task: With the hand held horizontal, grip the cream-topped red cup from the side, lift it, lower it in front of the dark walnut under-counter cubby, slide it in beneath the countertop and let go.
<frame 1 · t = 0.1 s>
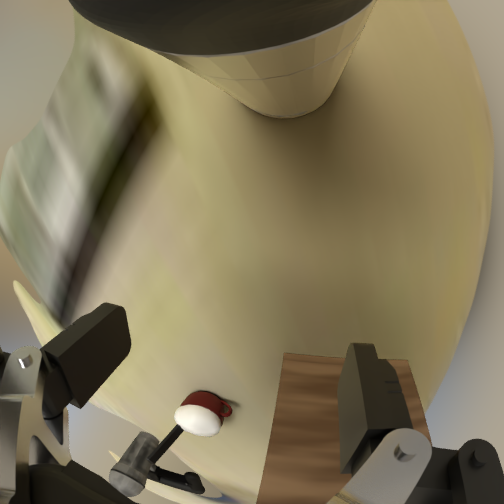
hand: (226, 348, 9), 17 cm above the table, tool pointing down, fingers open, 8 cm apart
beverage cup: (149, 437, 46), on the table
under counter cubby: (328, 415, 33), on the table
door handle: (166, 468, 53), on the table
cream-topped red cup: (205, 398, 36), on the table
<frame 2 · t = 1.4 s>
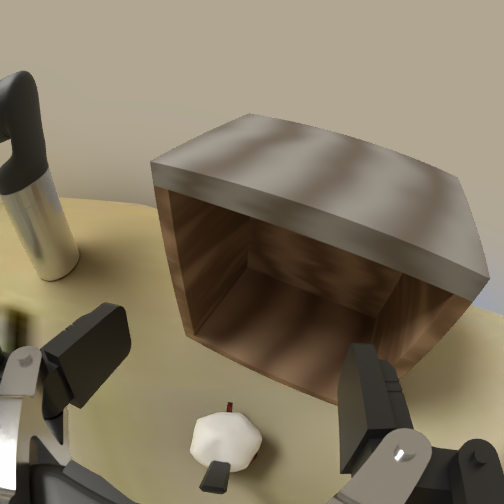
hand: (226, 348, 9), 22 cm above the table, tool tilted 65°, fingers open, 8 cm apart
under counter cubby: (293, 330, 35), on the table
cream-topped red cup: (225, 449, 24), on the table
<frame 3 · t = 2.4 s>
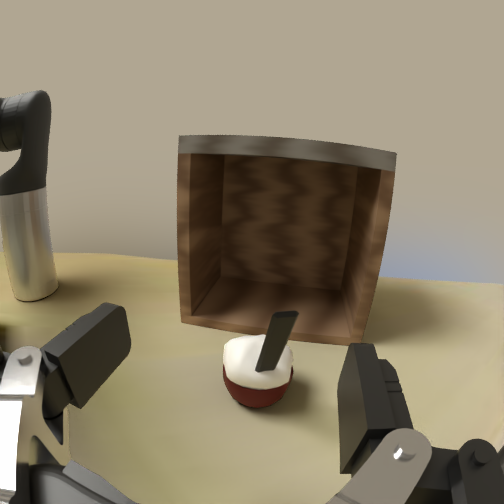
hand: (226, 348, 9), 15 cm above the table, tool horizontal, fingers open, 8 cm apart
under counter cubby: (275, 307, 41), on the table
cream-topped red cup: (254, 396, 24), on the table
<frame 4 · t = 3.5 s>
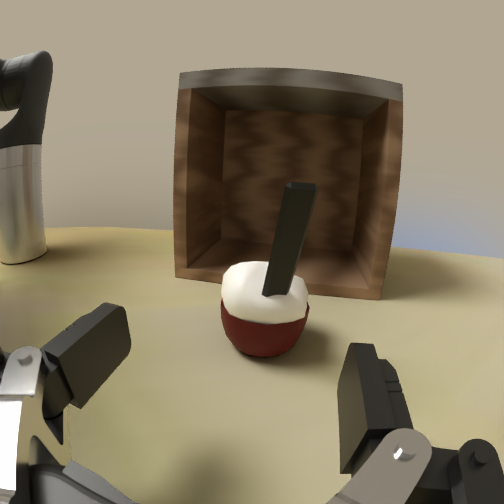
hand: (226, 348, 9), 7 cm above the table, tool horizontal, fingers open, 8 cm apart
under counter cubby: (281, 266, 37), on the table
cream-topped red cup: (260, 346, 21), on the table
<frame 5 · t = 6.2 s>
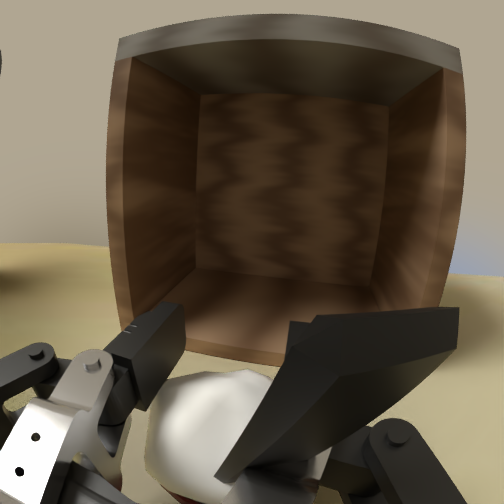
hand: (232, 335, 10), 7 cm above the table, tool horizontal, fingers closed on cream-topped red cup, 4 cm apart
under counter cubby: (274, 313, 26), on the table
cream-topped red cup: (224, 486, 9), on the table, touching gripper
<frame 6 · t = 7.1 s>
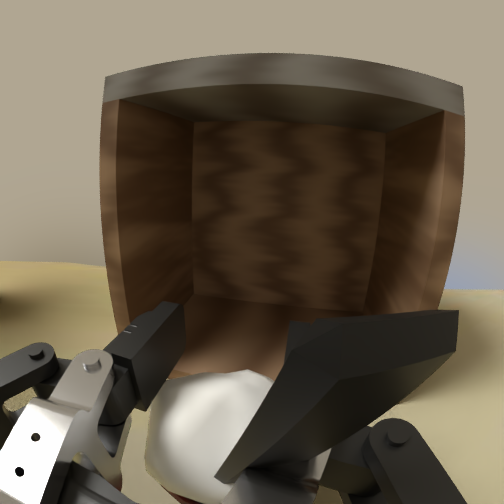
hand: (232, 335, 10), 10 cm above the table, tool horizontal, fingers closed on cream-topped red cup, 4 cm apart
under counter cubby: (269, 342, 27), on the table
cream-topped red cup: (224, 486, 9), point 3 cm above the table, touching gripper
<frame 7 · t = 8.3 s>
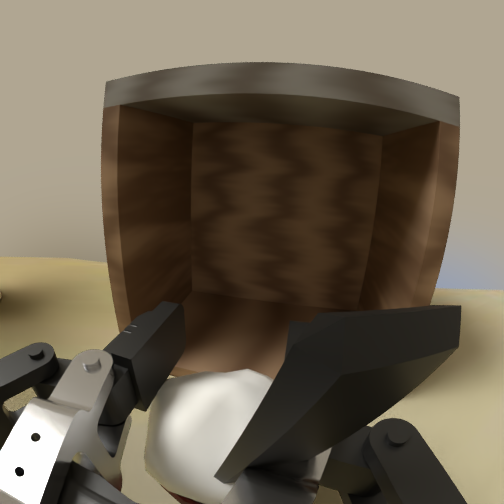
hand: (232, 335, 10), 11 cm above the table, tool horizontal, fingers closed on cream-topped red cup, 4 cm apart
under counter cubby: (265, 339, 28), on the table
cream-topped red cup: (224, 486, 9), point 4 cm above the table, touching gripper
when the fingers open (9 cm above the table, at t = 12.6 s): cream-topped red cup stays where it is, resting on under counter cubby.
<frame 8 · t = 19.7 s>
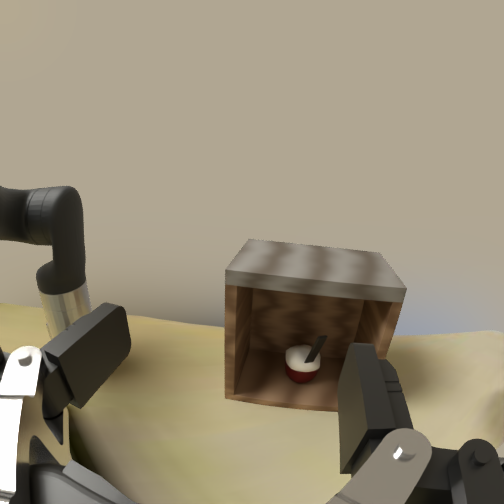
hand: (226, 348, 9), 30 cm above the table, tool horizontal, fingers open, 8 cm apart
under counter cubby: (297, 379, 47), on the table
cream-topped red cup: (299, 377, 46), point 1 cm above the table, touching under counter cubby
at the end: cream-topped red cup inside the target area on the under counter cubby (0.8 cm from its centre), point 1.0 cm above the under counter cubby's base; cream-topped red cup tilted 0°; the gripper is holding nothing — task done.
